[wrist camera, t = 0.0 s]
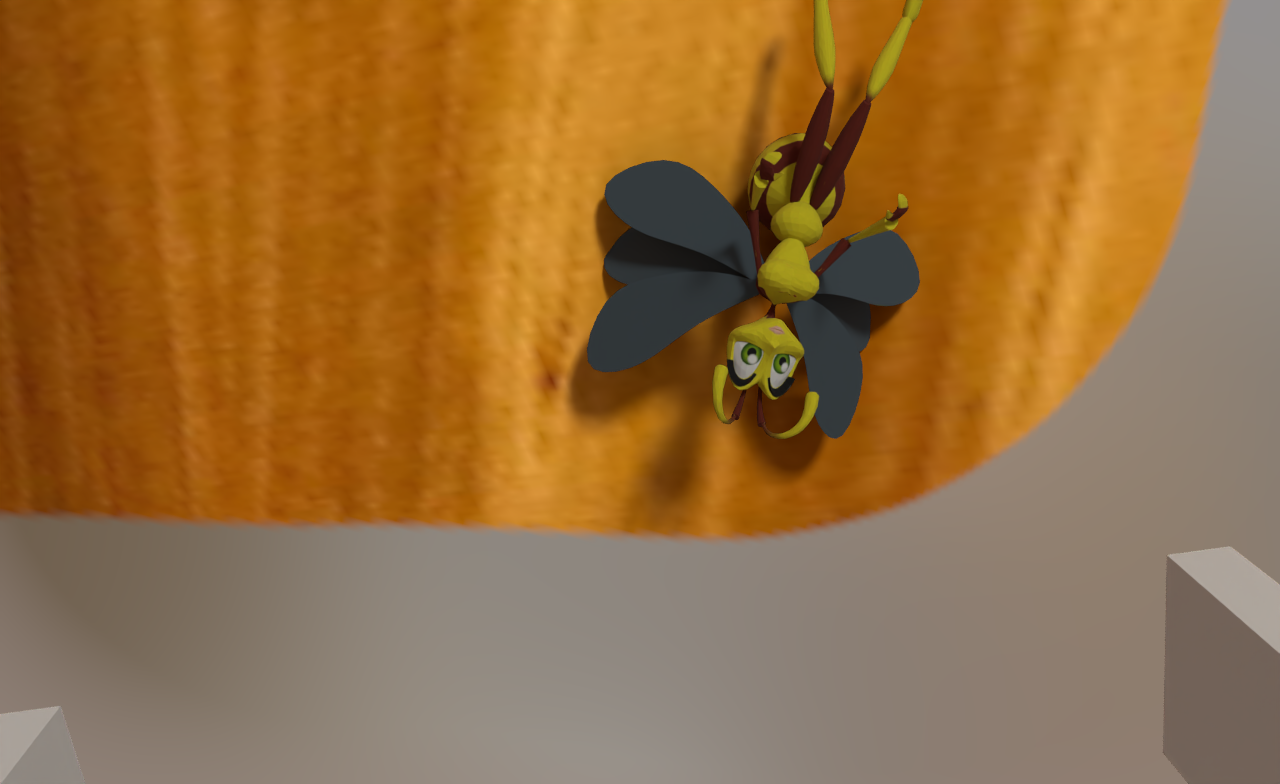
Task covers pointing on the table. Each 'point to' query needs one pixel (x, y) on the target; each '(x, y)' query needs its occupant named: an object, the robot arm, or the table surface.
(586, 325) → the table surface
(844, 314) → the toy
